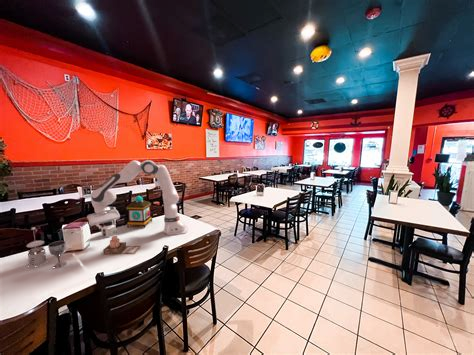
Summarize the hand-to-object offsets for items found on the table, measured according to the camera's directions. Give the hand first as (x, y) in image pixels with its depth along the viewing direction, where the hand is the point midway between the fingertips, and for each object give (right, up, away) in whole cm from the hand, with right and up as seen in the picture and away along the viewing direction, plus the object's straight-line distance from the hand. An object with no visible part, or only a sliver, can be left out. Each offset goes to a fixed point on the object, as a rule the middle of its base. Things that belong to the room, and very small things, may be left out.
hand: (107, 226), depth 146 cm
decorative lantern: (+2, -10, +45) cm, 47 cm away
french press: (-33, -19, -21) cm, 43 cm away
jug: (+9, -16, -5) cm, 19 cm away
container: (-14, -13, +22) cm, 29 cm away
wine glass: (-16, -20, -22) cm, 34 cm away
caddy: (+14, -18, -4) cm, 23 cm away
